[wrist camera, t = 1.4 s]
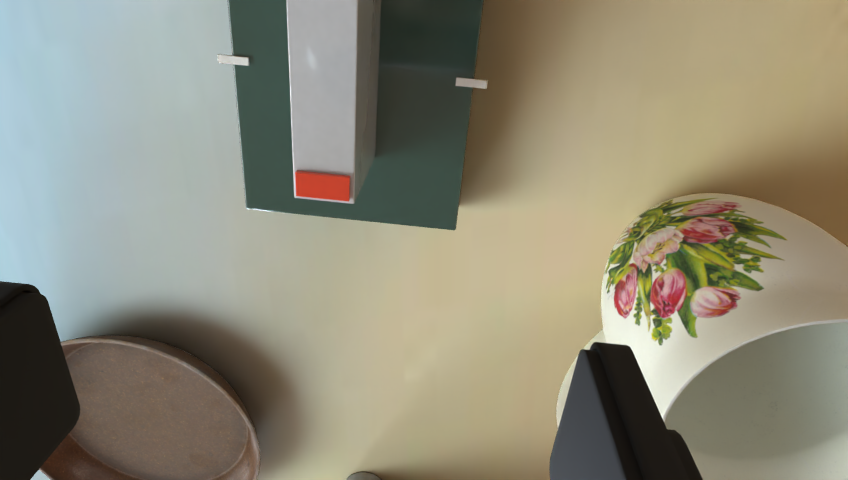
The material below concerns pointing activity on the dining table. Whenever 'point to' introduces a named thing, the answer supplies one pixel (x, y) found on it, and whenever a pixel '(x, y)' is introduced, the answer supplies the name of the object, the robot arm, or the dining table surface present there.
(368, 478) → the hip flask
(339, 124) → the tap handle
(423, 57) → the plate
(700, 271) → the pitcher
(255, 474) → the plant saucer
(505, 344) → the dining table surface
